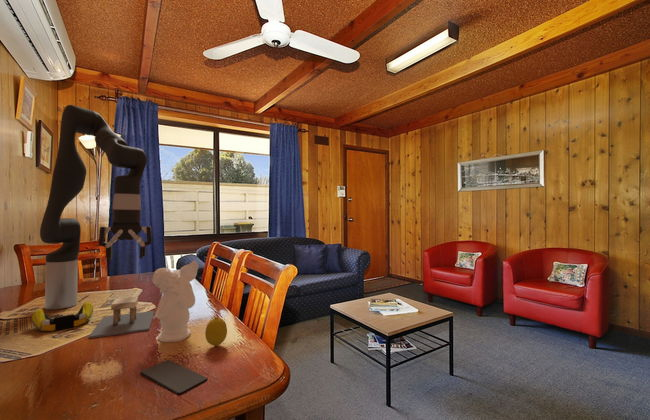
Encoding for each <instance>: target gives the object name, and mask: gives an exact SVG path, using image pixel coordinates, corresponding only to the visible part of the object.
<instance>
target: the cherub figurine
mask: <svg viewBox="0 0 650 420" xmlns="http://www.w3.org/2000/svg"><path fill="white" fill-rule="evenodd" d="M198 271H199V264H198V261H196V260H195V259H194V260H192V261H191V262H190V263H188V264H185V265H183V266H182V267H180V269H178V270H177V269H175V270H174V271H171V269H170V268H166V267H159V268H158V269H156V270H154V272H153V275H152V283H153V285H154V286H156V288H158V289H159V293H160V294H162V297H161V298H160V300H159V303H158V305H157V309H156V311H155V312H154V315H153V318H155V319H158V320H159V324H160V326H161V327H162V328H160V333H159V334H158V336H157V338H158V340H159V341H160V342H162V343H171V342H173V343H174V342H175V343H177V342H180V341H183V340H185V339H187V338H189V337H190V335H191V333H192V332H191V329H190V328H189V324H188V323H189V321H190V315H191V313H190V310H189V309H191V308H193V307H194V306H195V304H196V296H195V295H196V294H195V293H194V289H193V286H192V284H191V282H192V281H194V280H195V279H196V277H197V275H198Z"/></svg>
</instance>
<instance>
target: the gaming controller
mask: <svg viewBox="0 0 650 420" xmlns="http://www.w3.org/2000/svg"><path fill="white" fill-rule="evenodd" d="M93 312H94V306H93V304H92V303H91V302H90V301H85V302H84V303H83V304H82V306H81V307H80V309H79V310H78V312H77V313H76V314H74V313H72V314H71V313H70V314H65V315H59V316H55V317H53V318H51V317H49V315H47V313H46V312H45V311H44V310H43V309H42V308H40V309H39V308H38V309H36V310H35V311H34V312H33V313H32V315H31V323H32V324H33V327H35V328H36V329H37V330H39V331H41V332H51V331H52V332H53V331H59V330H63V329H69V328H73V327H74V328H75V327H77V326H81V325H84V324H86V323H88V321H89V320H90V319H91V318H92V315H93Z"/></svg>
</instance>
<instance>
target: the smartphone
mask: <svg viewBox="0 0 650 420" xmlns="http://www.w3.org/2000/svg"><path fill="white" fill-rule="evenodd" d="M139 373H140V375H141V376H143V377H144V378H146V379H148V380H149V381H151V382H153V383H155V384H157V385H158V386H160V387H163V388H164V389H166V390H168V391H169V392H171V393H174V394H175V395H177V396H182V395H184V394H185V393H187V392H189V391H191V390H193V389H194V388H197V387H199V386H200V385H202V384H204V383H205V381H206V382H208V380H209V379H208V377H206V376H204V375H202V374H200V373H198V372H195V371H193V370H192V369H190V368H188V367H185V366H183V365H181V364H178V363H176V362H174V361H173V360H170V359H166V360H164V361H162V362H159V363H157V364H154V365H153V366H150V367H147V368H145V369H142V370H141V371H140V372H139Z"/></svg>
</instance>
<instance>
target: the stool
mask: <svg viewBox="0 0 650 420" xmlns="http://www.w3.org/2000/svg"><path fill="white" fill-rule="evenodd" d="M138 303H139V296H132V297H121V298H115V299H114V300H113V301H112V303H111V306H110V310H111V311H112V312H113V314H112V316H113V326H117V325H118V321H121V315H122V314H121V312H122V311H121V310H127V309H129V314H130V324H134V320H135V319H136V313H137V305H138Z"/></svg>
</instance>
